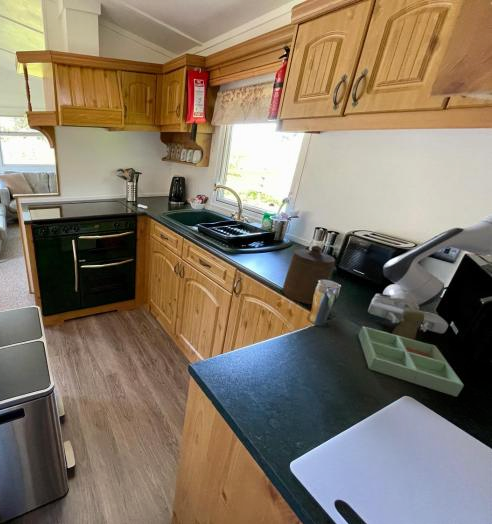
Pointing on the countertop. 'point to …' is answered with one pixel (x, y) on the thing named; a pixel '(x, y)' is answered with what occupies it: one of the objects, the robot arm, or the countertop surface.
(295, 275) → the wooden container
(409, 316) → the cork
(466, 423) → the countertop surface
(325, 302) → the beer glass
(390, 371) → the compartment tray
